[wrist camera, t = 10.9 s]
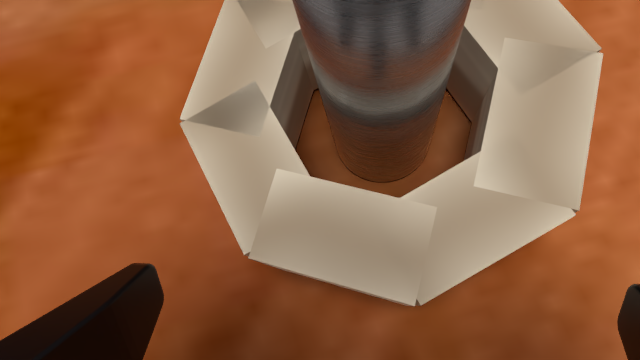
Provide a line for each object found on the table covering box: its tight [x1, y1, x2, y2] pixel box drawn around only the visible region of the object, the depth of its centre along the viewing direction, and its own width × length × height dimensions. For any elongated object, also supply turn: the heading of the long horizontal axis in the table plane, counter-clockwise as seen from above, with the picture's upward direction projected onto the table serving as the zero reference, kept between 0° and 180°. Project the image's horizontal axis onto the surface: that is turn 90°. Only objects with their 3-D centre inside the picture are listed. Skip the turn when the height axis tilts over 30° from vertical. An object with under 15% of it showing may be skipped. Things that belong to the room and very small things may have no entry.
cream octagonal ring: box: [180, 0, 603, 306], centre depth 17 cm, size 13×13×4 cm
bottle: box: [292, 0, 471, 182], centre depth 12 cm, size 4×4×15 cm
